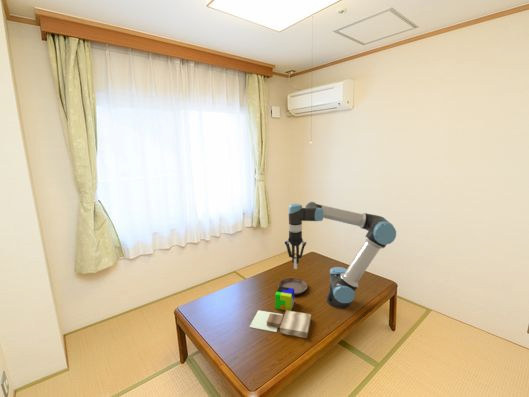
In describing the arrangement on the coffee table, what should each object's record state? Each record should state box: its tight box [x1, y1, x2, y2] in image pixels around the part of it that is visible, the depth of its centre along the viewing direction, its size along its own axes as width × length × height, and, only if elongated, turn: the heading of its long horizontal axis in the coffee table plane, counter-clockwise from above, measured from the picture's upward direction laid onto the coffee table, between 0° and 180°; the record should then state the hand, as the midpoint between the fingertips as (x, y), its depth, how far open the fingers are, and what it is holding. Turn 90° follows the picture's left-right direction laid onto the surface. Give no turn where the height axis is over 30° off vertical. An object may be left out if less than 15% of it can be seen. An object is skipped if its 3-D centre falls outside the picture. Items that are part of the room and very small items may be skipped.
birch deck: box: [279, 310, 312, 339], centre depth 152 cm, size 15×16×4 cm
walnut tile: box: [267, 313, 284, 329], centre depth 155 cm, size 8×8×2 cm
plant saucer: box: [278, 277, 308, 296], centre depth 191 cm, size 21×21×3 cm
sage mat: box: [249, 309, 284, 333], centre depth 157 cm, size 16×16×1 cm
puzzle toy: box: [274, 286, 295, 311], centre depth 171 cm, size 10×10×10 cm
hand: (295, 268), depth 159 cm, fingers closed
